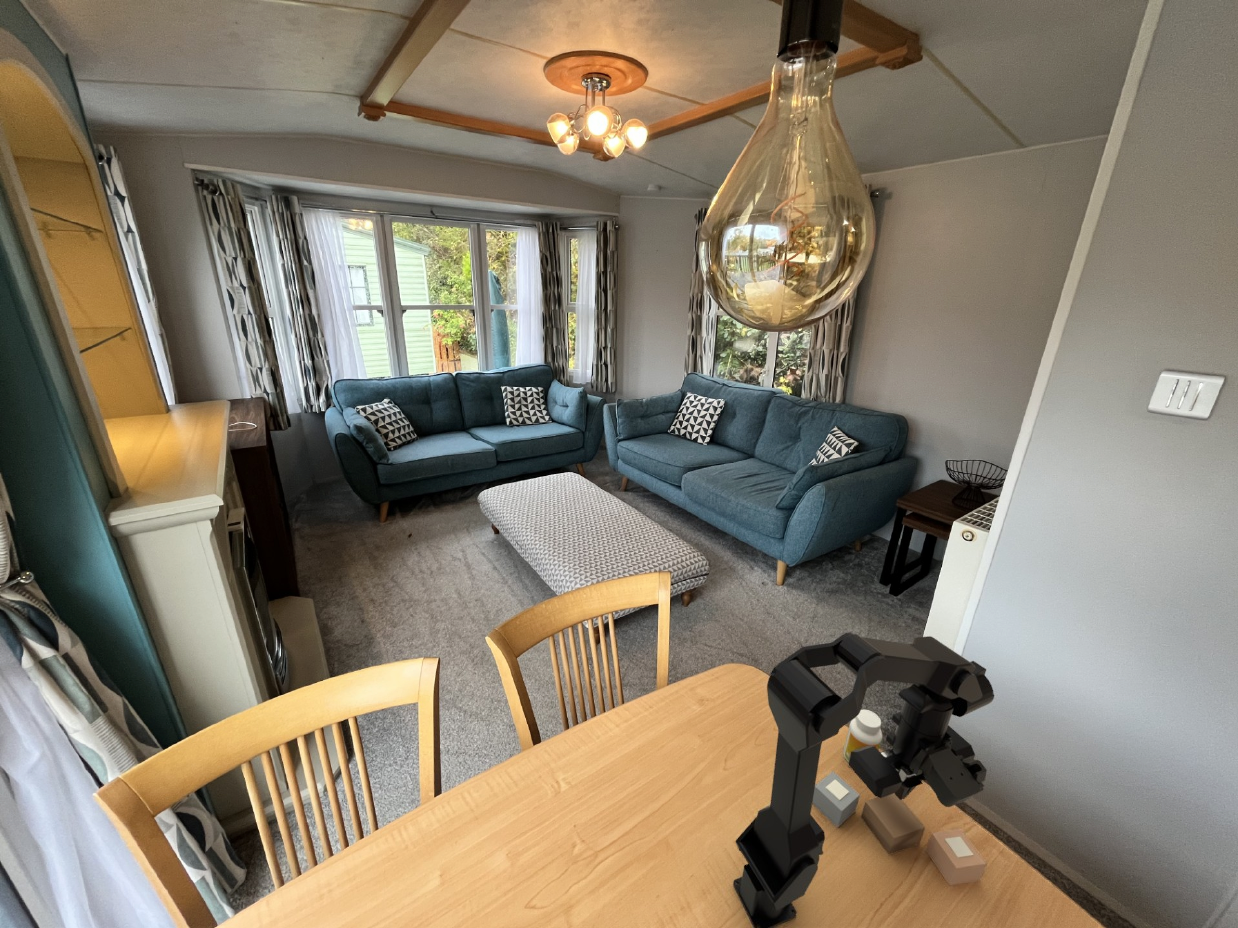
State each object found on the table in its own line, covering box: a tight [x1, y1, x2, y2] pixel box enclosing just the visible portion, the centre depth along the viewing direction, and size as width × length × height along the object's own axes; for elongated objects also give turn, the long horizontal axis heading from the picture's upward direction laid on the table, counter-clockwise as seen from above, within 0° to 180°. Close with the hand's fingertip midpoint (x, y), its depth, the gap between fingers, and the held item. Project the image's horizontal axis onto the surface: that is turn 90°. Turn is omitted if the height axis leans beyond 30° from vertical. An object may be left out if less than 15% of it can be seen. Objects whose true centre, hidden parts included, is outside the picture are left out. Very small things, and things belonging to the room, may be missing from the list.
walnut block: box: [860, 793, 926, 856], centre depth 81 cm, size 6×6×4 cm
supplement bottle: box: [843, 709, 883, 763], centre depth 92 cm, size 5×5×10 cm
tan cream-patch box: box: [925, 828, 988, 886], centre depth 76 cm, size 5×5×4 cm
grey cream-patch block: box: [812, 771, 861, 828], centre depth 84 cm, size 5×5×4 cm
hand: (899, 796), depth 79 cm, fingers closed
